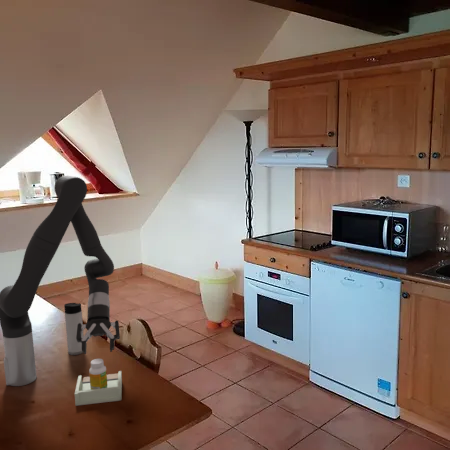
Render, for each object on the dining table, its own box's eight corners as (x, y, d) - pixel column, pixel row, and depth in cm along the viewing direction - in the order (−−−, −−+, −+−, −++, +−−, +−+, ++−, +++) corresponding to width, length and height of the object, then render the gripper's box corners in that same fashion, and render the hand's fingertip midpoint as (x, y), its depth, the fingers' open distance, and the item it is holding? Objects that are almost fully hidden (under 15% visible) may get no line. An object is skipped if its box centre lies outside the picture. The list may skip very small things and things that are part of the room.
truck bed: (75, 405, 150) (74, 393, 149) (80, 379, 167) (80, 368, 166) (121, 400, 153) (120, 388, 152) (122, 375, 169) (121, 364, 168)
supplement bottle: (103, 393, 155) (101, 365, 153) (87, 392, 156) (85, 364, 154) (110, 385, 160) (108, 357, 158) (95, 384, 161) (93, 356, 159)
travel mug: (64, 354, 187) (59, 305, 183) (75, 347, 193) (71, 299, 189) (77, 356, 184) (73, 306, 181) (88, 349, 190) (84, 301, 187)
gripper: (76, 304, 166) (74, 349, 157) (118, 301, 169) (119, 346, 160) (79, 314, 172) (77, 358, 163) (119, 311, 175) (120, 354, 166)
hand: (98, 352), depth 161 cm, fingers open, 8 cm apart
